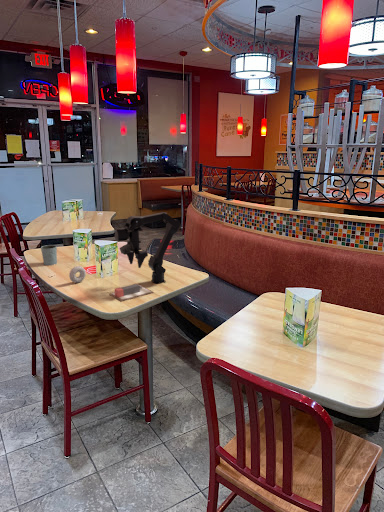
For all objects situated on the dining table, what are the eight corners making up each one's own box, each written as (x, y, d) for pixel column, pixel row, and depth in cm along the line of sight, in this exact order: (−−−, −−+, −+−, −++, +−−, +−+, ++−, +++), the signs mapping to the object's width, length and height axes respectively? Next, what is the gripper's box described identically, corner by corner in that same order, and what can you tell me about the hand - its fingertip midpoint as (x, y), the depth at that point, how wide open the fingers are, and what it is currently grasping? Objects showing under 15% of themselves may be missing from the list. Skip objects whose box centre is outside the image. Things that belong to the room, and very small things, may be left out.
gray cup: (52, 260, 267) (50, 244, 264) (61, 263, 262) (59, 246, 258) (39, 264, 260) (37, 247, 256) (48, 266, 254) (46, 249, 251)
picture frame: (141, 286, 218) (141, 285, 218) (153, 292, 209) (153, 291, 209) (109, 294, 207) (109, 293, 206) (121, 301, 197) (121, 300, 197)
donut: (71, 285, 220) (70, 268, 217) (69, 283, 222) (67, 267, 220) (87, 281, 227) (86, 265, 224) (84, 279, 229) (83, 264, 226)
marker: (139, 289, 212) (138, 282, 211) (142, 291, 209) (142, 284, 208) (114, 295, 203) (114, 288, 202) (118, 297, 201) (117, 290, 199)
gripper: (113, 238, 214) (114, 264, 218) (129, 244, 200) (131, 272, 204) (130, 235, 220) (131, 261, 225) (147, 241, 206) (148, 268, 211)
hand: (135, 265), depth 216 cm, fingers open, 9 cm apart
